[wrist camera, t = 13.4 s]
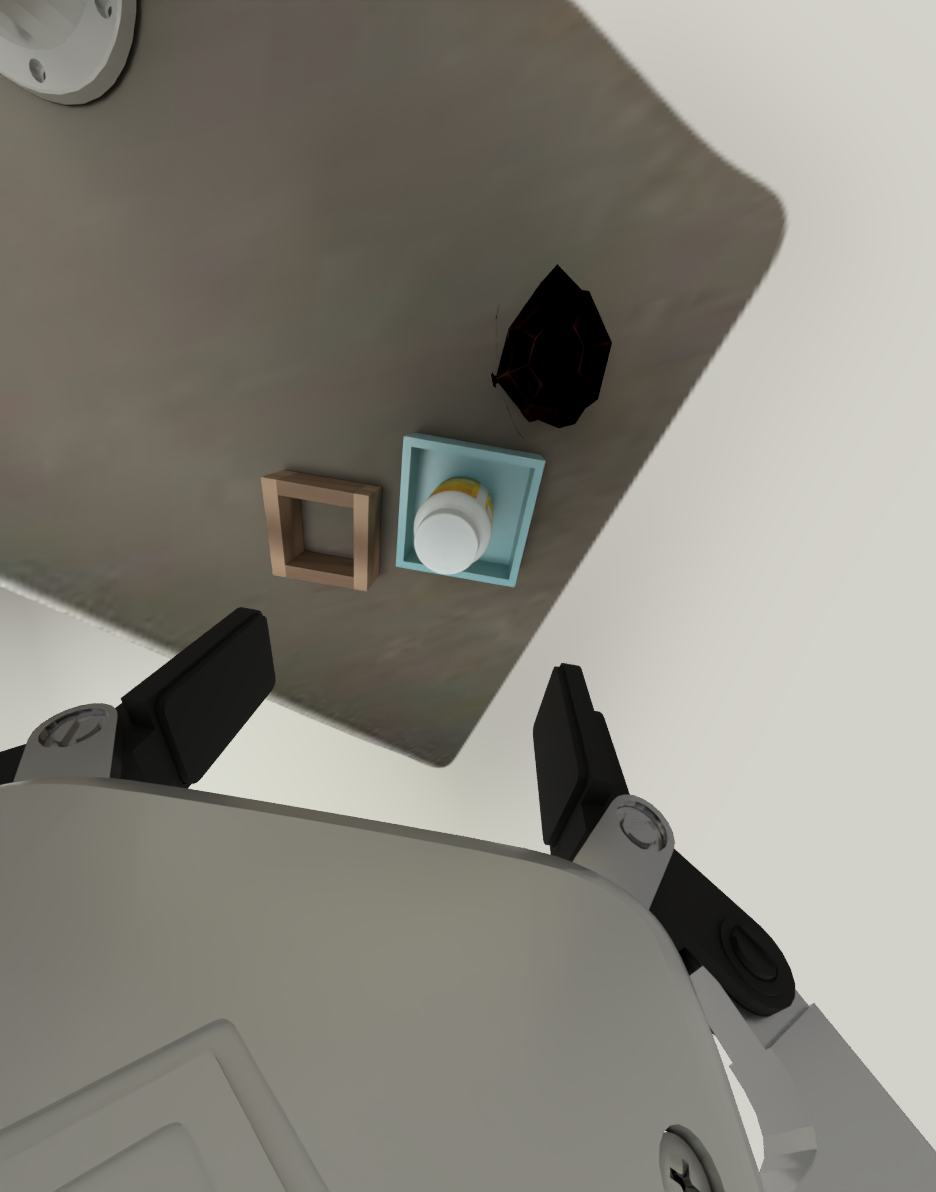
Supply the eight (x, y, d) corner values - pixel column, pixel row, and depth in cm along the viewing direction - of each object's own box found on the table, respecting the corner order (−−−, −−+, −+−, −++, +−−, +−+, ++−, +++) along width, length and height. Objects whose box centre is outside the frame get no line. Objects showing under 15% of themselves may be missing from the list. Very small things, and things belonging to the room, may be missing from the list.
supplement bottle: (506, 509, 30) (508, 550, 21) (461, 549, 32) (446, 600, 23) (462, 459, 28) (446, 482, 20) (418, 504, 30) (385, 542, 22)
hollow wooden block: (284, 469, 31) (260, 477, 28) (381, 487, 31) (368, 495, 28) (293, 559, 35) (273, 574, 32) (378, 575, 35) (366, 591, 32)
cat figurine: (483, 331, 25) (470, 276, 15) (582, 297, 24) (647, 211, 13) (504, 436, 28) (505, 455, 18) (592, 412, 27) (651, 416, 16)
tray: (415, 432, 29) (403, 436, 25) (540, 454, 29) (545, 461, 25) (406, 549, 33) (395, 566, 30) (513, 568, 33) (514, 587, 30)
